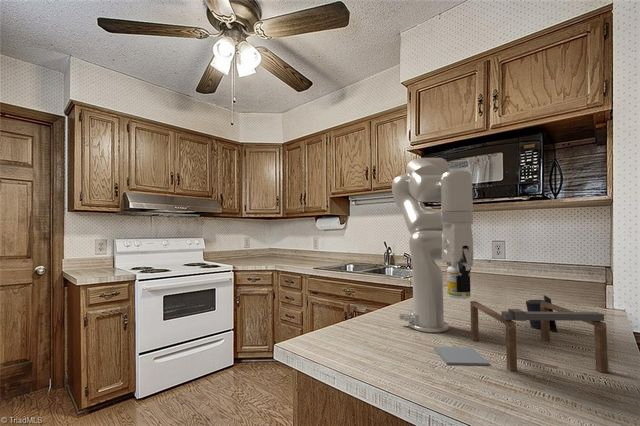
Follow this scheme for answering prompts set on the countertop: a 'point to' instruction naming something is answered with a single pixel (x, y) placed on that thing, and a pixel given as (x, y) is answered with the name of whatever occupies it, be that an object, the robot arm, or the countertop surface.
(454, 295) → the supplement bottle
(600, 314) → the tie bar
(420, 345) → the countertop surface
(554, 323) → the speaker
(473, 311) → the frame
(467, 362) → the slate mat
